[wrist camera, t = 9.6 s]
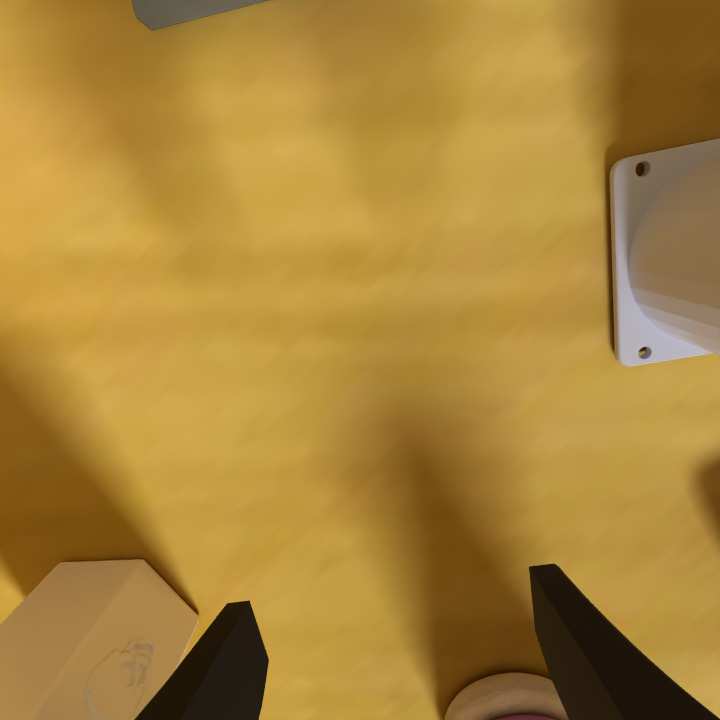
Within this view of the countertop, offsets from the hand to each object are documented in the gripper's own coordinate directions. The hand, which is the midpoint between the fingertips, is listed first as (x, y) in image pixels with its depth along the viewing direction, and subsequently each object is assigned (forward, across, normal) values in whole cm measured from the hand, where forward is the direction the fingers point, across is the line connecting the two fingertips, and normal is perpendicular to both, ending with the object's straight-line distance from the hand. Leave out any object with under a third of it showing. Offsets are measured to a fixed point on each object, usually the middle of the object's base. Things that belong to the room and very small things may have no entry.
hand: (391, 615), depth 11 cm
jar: (+10, +16, +8) cm, 20 cm away
